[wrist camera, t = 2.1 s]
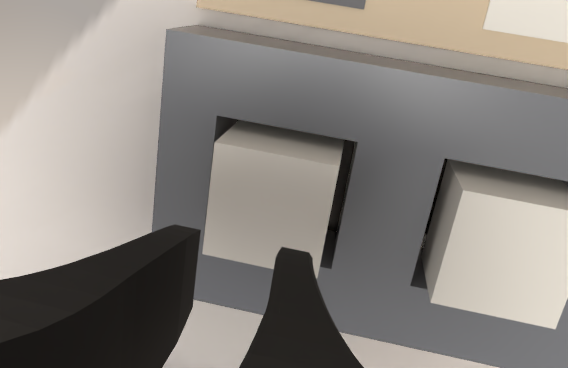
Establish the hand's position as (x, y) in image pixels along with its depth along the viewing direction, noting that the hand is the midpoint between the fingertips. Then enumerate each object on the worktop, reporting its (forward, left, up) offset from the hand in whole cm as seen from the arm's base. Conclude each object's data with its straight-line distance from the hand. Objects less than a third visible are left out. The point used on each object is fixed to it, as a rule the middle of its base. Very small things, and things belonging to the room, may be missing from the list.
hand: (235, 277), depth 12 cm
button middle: (0, -7, -7) cm, 10 cm away
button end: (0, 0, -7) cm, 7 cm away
